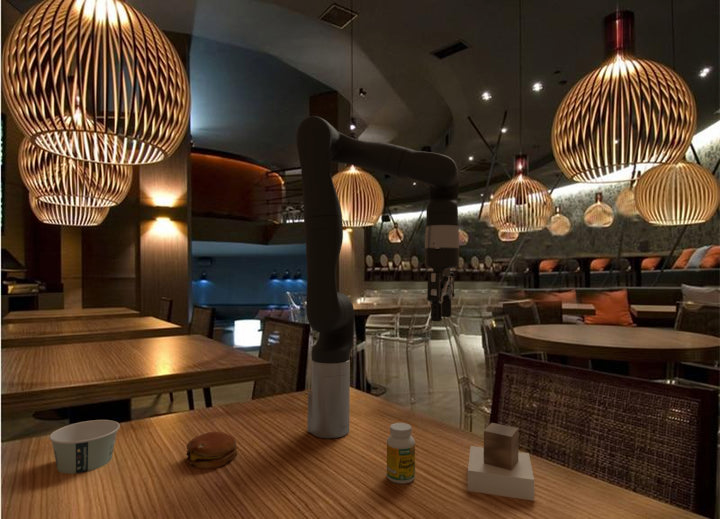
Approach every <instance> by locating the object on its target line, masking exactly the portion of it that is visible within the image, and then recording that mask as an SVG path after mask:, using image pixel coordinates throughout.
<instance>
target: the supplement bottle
mask: <svg viewBox="0 0 720 519" xmlns="http://www.w3.org/2000/svg"><path fill="white" fill-rule="evenodd" d="M389 430H390V431H389V433H390V435H388V437H387V440H386V477H387V479H388V480H389V481H390V482H392V483H393V484H394V483H395V484H398V485H403V484H409V483H411V482H413V481H414V480H415V478H416V441H415V438H414V437H413V435H412V426H411V424H409V423H405V422H396V423H391V424H390V426H389Z"/></svg>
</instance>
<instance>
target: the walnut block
mask: <svg viewBox="0 0 720 519" xmlns="http://www.w3.org/2000/svg"><path fill="white" fill-rule="evenodd" d="M483 448H484V464H488V465H492V466H495V467H499V468H503V469H507V470H511V471H512V469H513V468H514V466H515V465H516V463H517V462H518V452H519V427H514V426H509V425H505V424H501V423H495V422H491V423H490V424H489V425H488V426H487V427H486V428H485V429H484V430H483Z"/></svg>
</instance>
